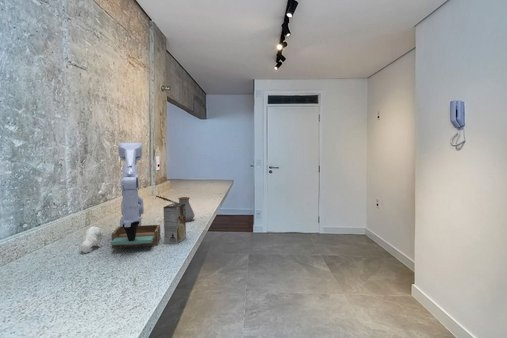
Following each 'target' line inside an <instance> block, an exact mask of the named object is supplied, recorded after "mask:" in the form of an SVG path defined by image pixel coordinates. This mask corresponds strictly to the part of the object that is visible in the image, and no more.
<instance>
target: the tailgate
mask: <svg viewBox="0 0 507 338" xmlns="http://www.w3.org/2000/svg"><path fill="white" fill-rule="evenodd" d="M153 239H154V236H144V237H135V240H134V241H128V238H127V237H125V238H115V239H114V240H112V239H111V241H110V246H112V245H121V244H124V245H140V243H152V241H153Z"/></svg>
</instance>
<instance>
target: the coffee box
mask: <svg viewBox="0 0 507 338" xmlns="http://www.w3.org/2000/svg"><path fill="white" fill-rule="evenodd" d="M163 234H164V244H174V245H178V244H180V243H181V242H182V241H184V240H185V239H186V238H187V222H186V216H185V204H180V203H179V202H178V203H173V202H171V203H170V204H168V205H164V206H163Z"/></svg>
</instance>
